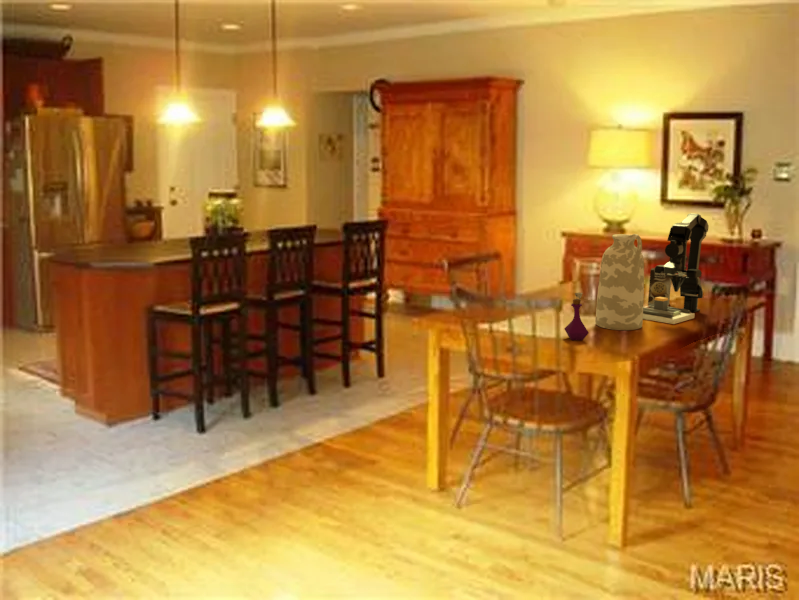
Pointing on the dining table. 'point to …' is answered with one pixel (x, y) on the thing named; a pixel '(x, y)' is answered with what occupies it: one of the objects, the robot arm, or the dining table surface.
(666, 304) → the lever
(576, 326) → the perfume bottle
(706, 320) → the dining table surface
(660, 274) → the coffee box
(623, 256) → the vase
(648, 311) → the panel
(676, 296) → the dining table surface
